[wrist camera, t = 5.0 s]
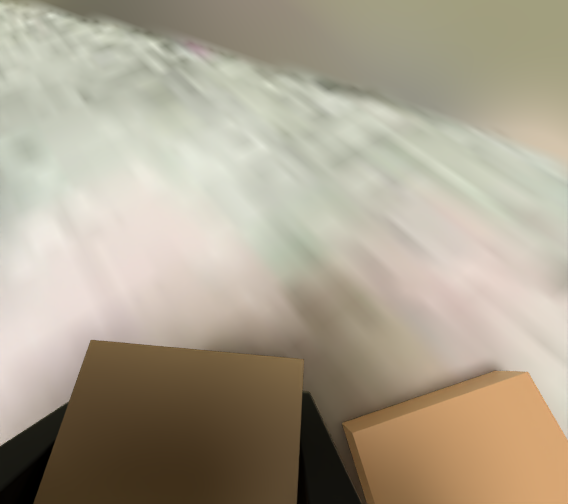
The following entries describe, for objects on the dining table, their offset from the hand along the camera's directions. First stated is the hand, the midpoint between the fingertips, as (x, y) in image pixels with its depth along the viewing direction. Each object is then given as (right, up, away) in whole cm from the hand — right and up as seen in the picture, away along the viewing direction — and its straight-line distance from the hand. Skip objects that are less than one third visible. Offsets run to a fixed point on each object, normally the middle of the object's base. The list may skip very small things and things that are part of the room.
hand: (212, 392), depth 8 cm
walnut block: (0, -4, +6) cm, 7 cm away
